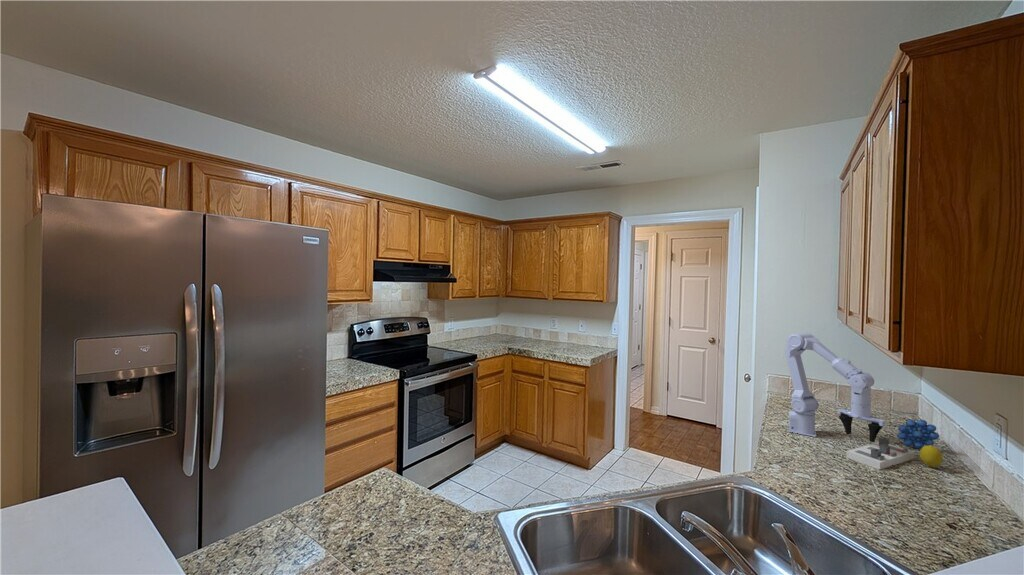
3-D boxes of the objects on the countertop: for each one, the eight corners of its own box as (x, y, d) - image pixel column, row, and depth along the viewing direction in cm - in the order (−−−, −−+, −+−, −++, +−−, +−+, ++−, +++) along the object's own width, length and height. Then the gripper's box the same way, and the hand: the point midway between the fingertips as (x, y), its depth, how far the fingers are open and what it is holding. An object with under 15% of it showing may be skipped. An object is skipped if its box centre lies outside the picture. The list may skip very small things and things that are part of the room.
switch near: (877, 458, 136) (877, 451, 136) (870, 456, 138) (870, 449, 138) (881, 457, 137) (881, 450, 137) (874, 455, 139) (874, 447, 139)
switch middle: (886, 453, 140) (886, 446, 140) (879, 451, 142) (879, 444, 142) (889, 452, 141) (889, 445, 141) (883, 450, 143) (883, 443, 143)
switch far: (885, 446, 146) (885, 439, 146) (878, 444, 148) (878, 437, 148) (888, 445, 147) (888, 438, 147) (882, 443, 149) (882, 436, 149)
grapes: (936, 449, 150) (936, 419, 150) (940, 455, 145) (940, 424, 145) (895, 441, 158) (895, 412, 158) (897, 446, 153) (898, 417, 152)
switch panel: (879, 469, 134) (880, 459, 134) (846, 457, 143) (846, 448, 143) (914, 458, 142) (914, 449, 142) (880, 447, 151) (880, 438, 151)
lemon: (947, 471, 133) (947, 448, 133) (931, 470, 133) (931, 448, 133) (930, 463, 138) (930, 442, 138) (915, 463, 138) (915, 441, 138)
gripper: (833, 399, 153) (832, 432, 154) (878, 410, 140) (877, 446, 140) (843, 397, 156) (843, 429, 156) (888, 408, 142) (888, 443, 143)
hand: (860, 437), depth 148 cm, fingers open, 7 cm apart
